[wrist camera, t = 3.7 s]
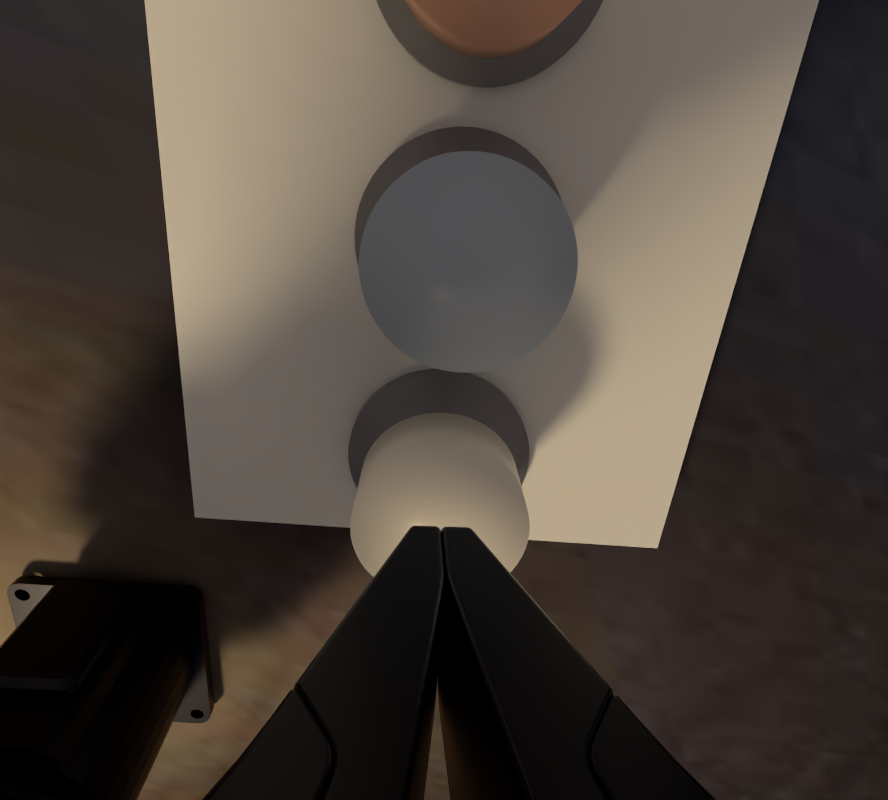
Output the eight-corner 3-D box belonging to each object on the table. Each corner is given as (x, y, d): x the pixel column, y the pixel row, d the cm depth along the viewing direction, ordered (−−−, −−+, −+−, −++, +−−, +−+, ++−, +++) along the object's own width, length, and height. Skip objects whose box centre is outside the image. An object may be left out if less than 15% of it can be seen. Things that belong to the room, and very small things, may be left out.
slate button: (540, 348, 13) (557, 380, 11) (366, 333, 13) (355, 364, 11) (571, 161, 12) (597, 163, 10) (374, 141, 11) (362, 139, 10)
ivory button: (506, 552, 15) (516, 606, 14) (358, 542, 15) (347, 595, 13) (528, 418, 14) (543, 459, 12) (363, 406, 14) (352, 445, 12)
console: (636, 510, 19) (661, 556, 17) (218, 481, 19) (189, 525, 16) (922, -554, 10) (1053, -745, 8) (130, -690, 10) (39, -940, 7)
